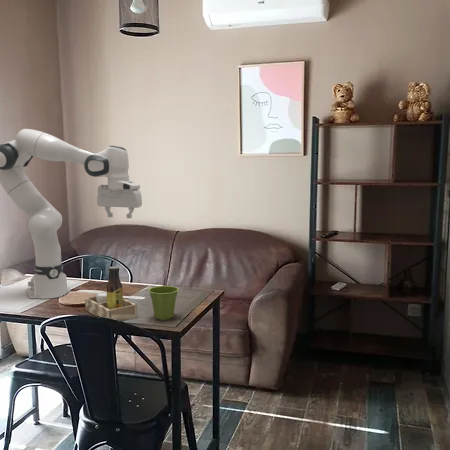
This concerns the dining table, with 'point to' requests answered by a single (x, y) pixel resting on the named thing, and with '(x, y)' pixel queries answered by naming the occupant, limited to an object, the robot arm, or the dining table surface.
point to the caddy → (119, 313)
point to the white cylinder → (101, 297)
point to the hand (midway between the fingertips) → (119, 217)
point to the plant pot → (163, 301)
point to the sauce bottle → (114, 289)
